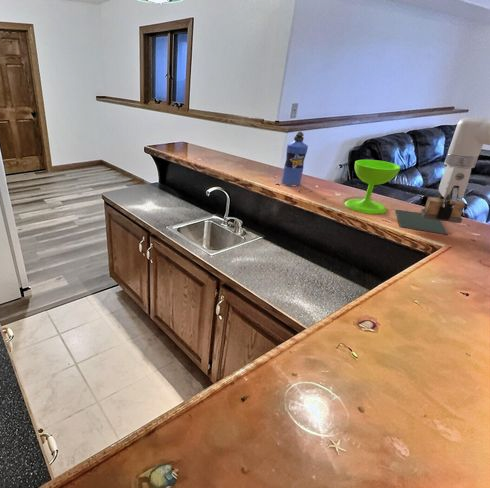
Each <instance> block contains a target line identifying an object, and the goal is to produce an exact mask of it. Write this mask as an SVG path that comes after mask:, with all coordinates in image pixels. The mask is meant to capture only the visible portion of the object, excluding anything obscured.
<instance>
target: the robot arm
mask: <svg viewBox="0 0 490 488" xmlns="http://www.w3.org/2000/svg"><path fill="white" fill-rule="evenodd" d="M484 145H487V146H490V119H488V118H485V117H471V116H470V117H469V116H468V117H463V118H460V119H459V121H458V122H457V124H456V127H455V130H454V133H453V136H452V140H451V141H450V145H449V148H448V150H447V154H446V156H445V158H444V159H445V160H444V162H443V164H444V165H445V166H446V167H445V169H444V172H443V174H442V176H441V179H440V183H439V186H438V192H439V195H438V196H437V198H443V199H444V200H443V204H442V206H441V207H440V209H439V212H438V215H437V218H438V219H444V220H449V218H450V216H451V213H452V210H453V208H454V204H455V202H456V201H457V200H461V201H462V200H463V198H464V196H465V193H466V190H467V188H468V184H469V181H470V177H471V173H472V169H474V168H475V167H476V164H477V162H478V159H479V156H480V154H481V152H482V149H483V147H484ZM447 200H449V201H447ZM446 201H447V202H446Z"/></svg>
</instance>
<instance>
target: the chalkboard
mask: <svg viewBox="0 0 490 488" xmlns="http://www.w3.org/2000/svg"><path fill="white" fill-rule="evenodd" d="M395 215H396V219H397V223H398V226H399V228H401V229H408V230H413V231H417V232H419V231H420V232H425V233H432V234H437V235H442V236H443V235H444V236H449V234H448V232H447V230H446V228H445V227H444V225H443V223H442V221H440V220H432V219H424V218H423V217H422V215H421V212H416V211H409V210H402V209H395Z"/></svg>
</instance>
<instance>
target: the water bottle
mask: <svg viewBox="0 0 490 488" xmlns="http://www.w3.org/2000/svg"><path fill="white" fill-rule="evenodd" d="M294 135H295V136H294V138H293V141H292V142H289V143H288V144H287V145H286V157H285V158H286V159H285V163H284V166H283V170H282V177H281V182H282V183H283V184H286V185H300V186H301V183H302V177H303V172H304V163H305V158H306V155H307V153H308V149H309V145H308V144H306V143H304V138H305V137H304V135H305V134H304V132H303V131H297V132H296V133H295V134H294ZM282 183H281V184H282ZM283 184H282V185H283ZM286 185H285V186H286Z"/></svg>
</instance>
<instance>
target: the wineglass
mask: <svg viewBox="0 0 490 488" xmlns="http://www.w3.org/2000/svg"><path fill="white" fill-rule="evenodd" d="M353 167H354V172H355V174H356V176H357V178H358V179H359V180H360V181H361V182H363V183H365V184H367V185H368V186H367V190H366V193H365V197H364V198H351V199H348V200H346V201H345V202H344V204H345V205H344V204H343V205H344V206H345V208H347V207H348V208H347V209H349V210H351V211H354V212H358V213H362V214H369V215H383V214H386V213H387V211H388V210H387V207H386V206H385V205H383V204H382V203H380V202H377V201H374V200H371V197H372V194H373V190H374V187H375V186H377V185H378V186H379V185H383V184H386V183H388V182H390V181H392V180H393V179H395V177H396V176H397V175H398V174H399V173H400V170H401V168H402V167H401V166H400V165H399V164H398V163H397V164H396V163H394V162H389V161H385V160H377V159H358V160H355V161H354V166H353Z"/></svg>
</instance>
